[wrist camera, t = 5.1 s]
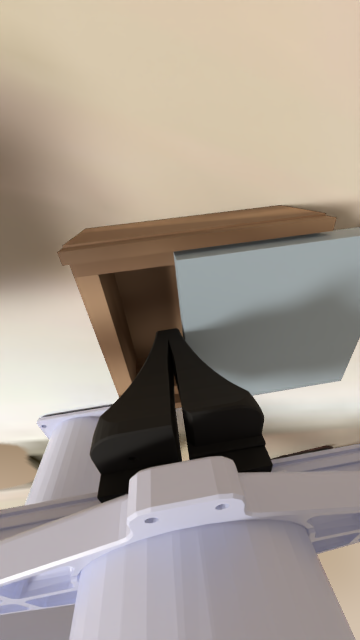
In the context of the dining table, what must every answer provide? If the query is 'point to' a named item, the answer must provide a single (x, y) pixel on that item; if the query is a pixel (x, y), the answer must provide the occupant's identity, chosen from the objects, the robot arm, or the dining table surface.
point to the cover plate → (273, 308)
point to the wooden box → (159, 273)
